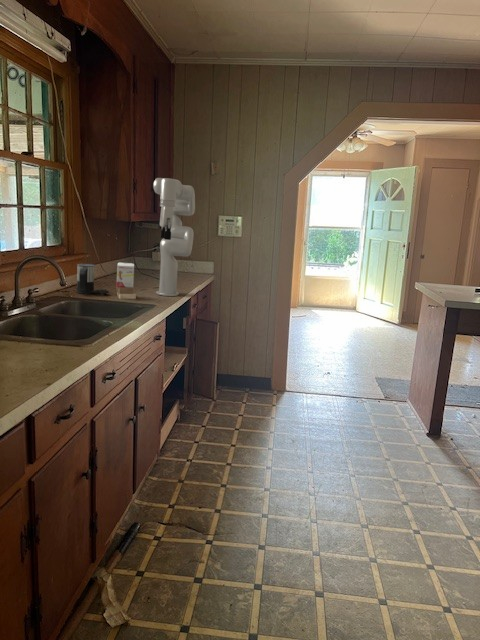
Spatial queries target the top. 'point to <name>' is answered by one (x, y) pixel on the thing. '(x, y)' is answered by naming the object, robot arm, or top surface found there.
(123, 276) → the ink box
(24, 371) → the top surface
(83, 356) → the top surface
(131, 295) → the maple slab
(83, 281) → the milk frother
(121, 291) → the walnut slab
